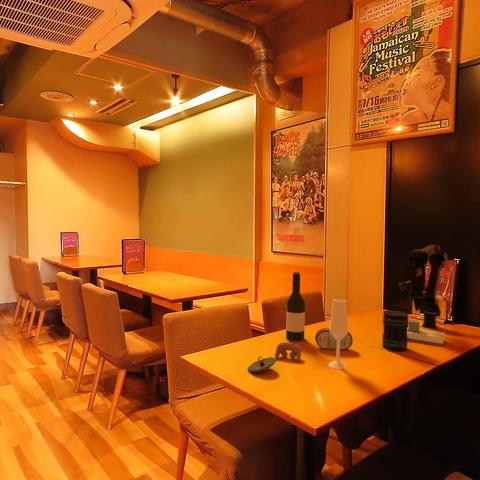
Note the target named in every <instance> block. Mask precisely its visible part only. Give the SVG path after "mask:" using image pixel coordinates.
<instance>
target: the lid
mask: <svg viewBox="0 0 480 480" xmlns="http://www.w3.org/2000/svg"><path fill="white" fill-rule="evenodd" d="M260 358H261V359H260ZM275 363H277V359H275V357H270V356H269V357H266V358H263V356H258V357H257V361H255V362H253V363H252V364H250V365H249V366H248V367H247V371H249V372H251V373H257V372H263V371H265V370H268V369H270V368H271V367H273V366H274V365H275Z"/></svg>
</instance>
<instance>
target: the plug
mask: <svg viewBox="0 0 480 480" xmlns="http://www.w3.org/2000/svg"><path fill="white" fill-rule="evenodd" d="M420 322H421V321H420V320H415V319H409V320H408V328H409V332H413V333H419V329H420Z"/></svg>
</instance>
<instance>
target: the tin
mask: <svg viewBox="0 0 480 480" xmlns="http://www.w3.org/2000/svg"><path fill="white" fill-rule="evenodd" d="M329 328H330V327H329ZM329 328H327V327H325V328H320V329H319V330H317V332H316V333H315V337H314V340H315V342H316V345H317V346H318V347H319V348H320V349H323V350H332V351H336V350H337V339H335V338H334V337H333V336H332V335H331V333H330V331H329ZM353 341H354V340H353V336H352V333H350V331H348V333H347V335H346V336H345V337H344V338H342V339H341V340H340V351H346V350H349V349H350V348H351V347H352V345H353Z"/></svg>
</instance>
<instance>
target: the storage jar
mask: <svg viewBox="0 0 480 480" xmlns="http://www.w3.org/2000/svg"><path fill="white" fill-rule="evenodd" d="M382 326H383V330H382V331H383V333H382V345H381V346H382V349H384V350H385V351H386V350H387V351H391V352H394V353H396V352H397V353H403V352H406V351H408V341H409V340H408V337H407V328H409V313H408V312H406V311H402V310H395V309H394V310H393V309H388V310H384V311H383V317H382Z"/></svg>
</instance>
